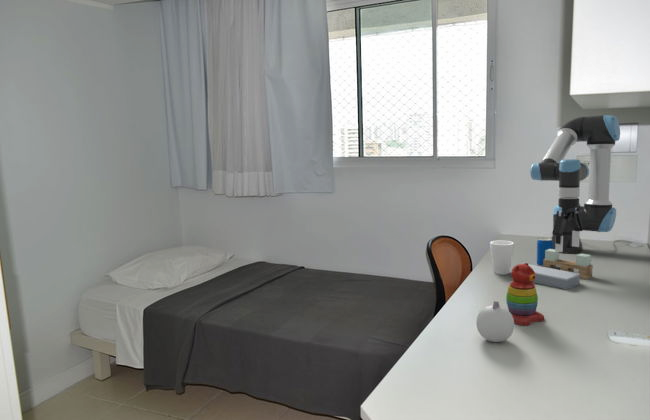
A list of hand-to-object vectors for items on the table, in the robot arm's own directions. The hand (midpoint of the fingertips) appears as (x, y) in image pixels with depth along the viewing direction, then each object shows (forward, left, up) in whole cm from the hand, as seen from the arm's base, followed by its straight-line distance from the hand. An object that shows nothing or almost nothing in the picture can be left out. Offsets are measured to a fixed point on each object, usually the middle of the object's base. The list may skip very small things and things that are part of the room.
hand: (567, 249), depth 204 cm
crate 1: (0, -7, -6) cm, 9 cm away
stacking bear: (+58, +15, -11) cm, 61 cm away
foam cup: (+16, -20, -11) cm, 28 cm away
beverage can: (-6, -13, -11) cm, 18 cm away
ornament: (+79, +19, -11) cm, 82 cm away
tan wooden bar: (0, 0, -11) cm, 11 cm away
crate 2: (0, +6, -6) cm, 9 cm away
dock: (+15, -1, -11) cm, 18 cm away
